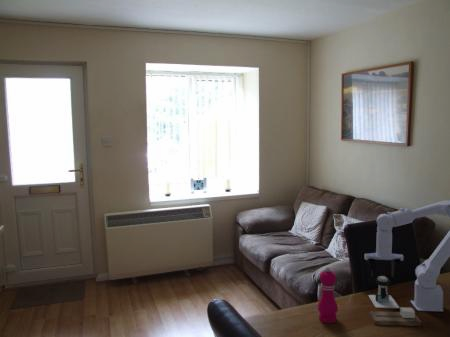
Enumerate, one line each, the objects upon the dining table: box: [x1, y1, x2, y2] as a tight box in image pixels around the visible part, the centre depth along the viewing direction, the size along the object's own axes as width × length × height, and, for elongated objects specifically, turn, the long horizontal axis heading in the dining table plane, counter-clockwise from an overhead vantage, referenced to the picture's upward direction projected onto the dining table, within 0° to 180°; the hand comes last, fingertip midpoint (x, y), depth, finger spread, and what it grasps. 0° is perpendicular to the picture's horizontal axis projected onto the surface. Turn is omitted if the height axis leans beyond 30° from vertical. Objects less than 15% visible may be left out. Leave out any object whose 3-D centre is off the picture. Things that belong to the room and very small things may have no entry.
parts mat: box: [367, 294, 400, 309], centre depth 153 cm, size 9×11×1 cm
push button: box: [375, 275, 392, 303], centre depth 153 cm, size 7×5×10 cm
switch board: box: [368, 310, 422, 327], centre depth 139 cm, size 16×7×2 cm, turn 84°
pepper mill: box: [317, 266, 339, 324], centre depth 140 cm, size 7×7×20 cm
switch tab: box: [399, 306, 416, 318], centre depth 138 cm, size 4×3×2 cm
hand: (383, 276), depth 153 cm, fingers open, 7 cm apart
